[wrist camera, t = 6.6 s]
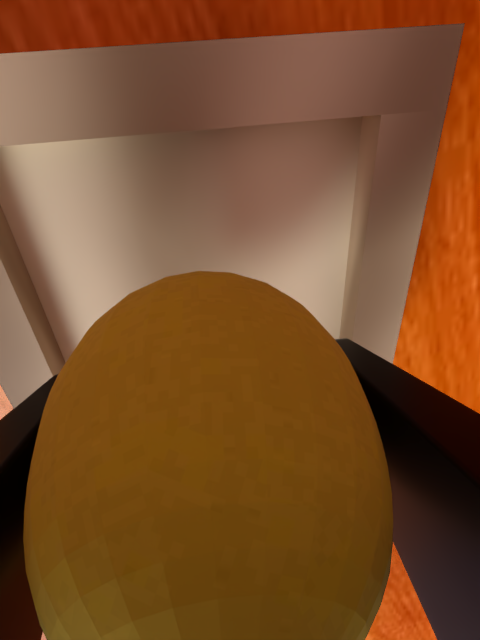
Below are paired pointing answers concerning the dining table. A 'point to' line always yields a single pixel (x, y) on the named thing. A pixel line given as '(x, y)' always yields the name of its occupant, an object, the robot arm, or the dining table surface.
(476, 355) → the dining table surface
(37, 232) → the base
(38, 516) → the lemon
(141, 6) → the dining table surface
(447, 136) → the dining table surface
